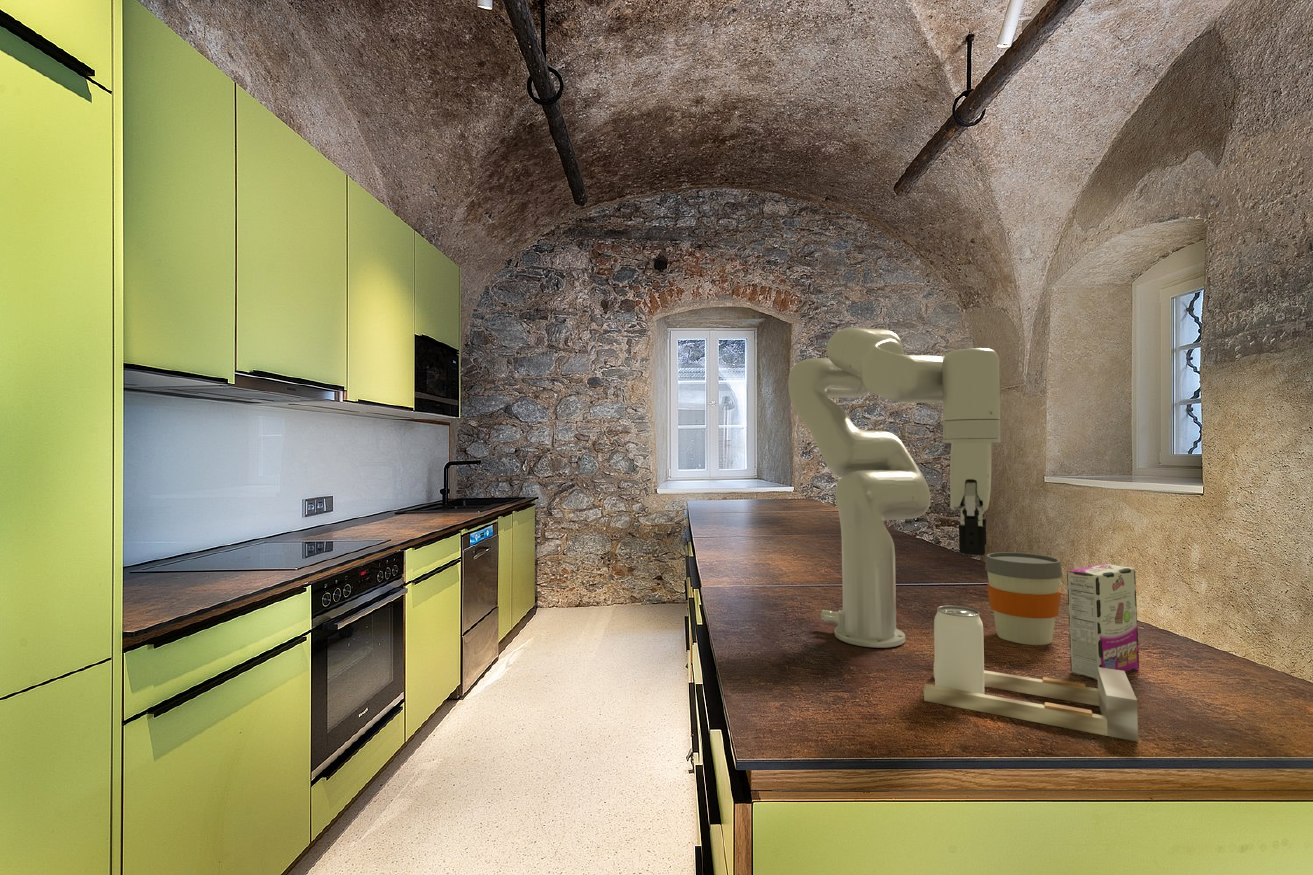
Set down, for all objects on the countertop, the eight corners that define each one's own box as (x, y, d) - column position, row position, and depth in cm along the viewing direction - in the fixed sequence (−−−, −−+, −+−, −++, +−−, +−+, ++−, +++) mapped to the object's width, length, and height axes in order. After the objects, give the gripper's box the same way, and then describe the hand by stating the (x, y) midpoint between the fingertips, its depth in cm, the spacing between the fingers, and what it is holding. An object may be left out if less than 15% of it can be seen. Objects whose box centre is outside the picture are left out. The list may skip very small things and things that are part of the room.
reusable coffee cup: (984, 641, 113) (982, 559, 113) (988, 624, 124) (986, 550, 124) (1065, 652, 106) (1063, 566, 107) (1062, 633, 117) (1060, 555, 117)
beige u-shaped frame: (924, 700, 86) (923, 665, 87) (934, 675, 96) (934, 643, 96) (1138, 741, 74) (1137, 700, 74) (1125, 707, 84) (1124, 670, 84)
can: (990, 703, 85) (989, 617, 86) (941, 699, 87) (939, 615, 87) (976, 685, 92) (975, 605, 92) (930, 682, 93) (929, 603, 93)
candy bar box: (1105, 660, 102) (1103, 562, 103) (1140, 670, 98) (1138, 567, 98) (1067, 672, 97) (1065, 569, 97) (1102, 683, 93) (1099, 574, 93)
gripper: (947, 434, 100) (949, 539, 99) (938, 432, 84) (940, 556, 84) (1000, 433, 96) (1002, 542, 96) (1000, 431, 81) (1003, 560, 80)
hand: (973, 549), depth 90 cm, fingers open, 9 cm apart
